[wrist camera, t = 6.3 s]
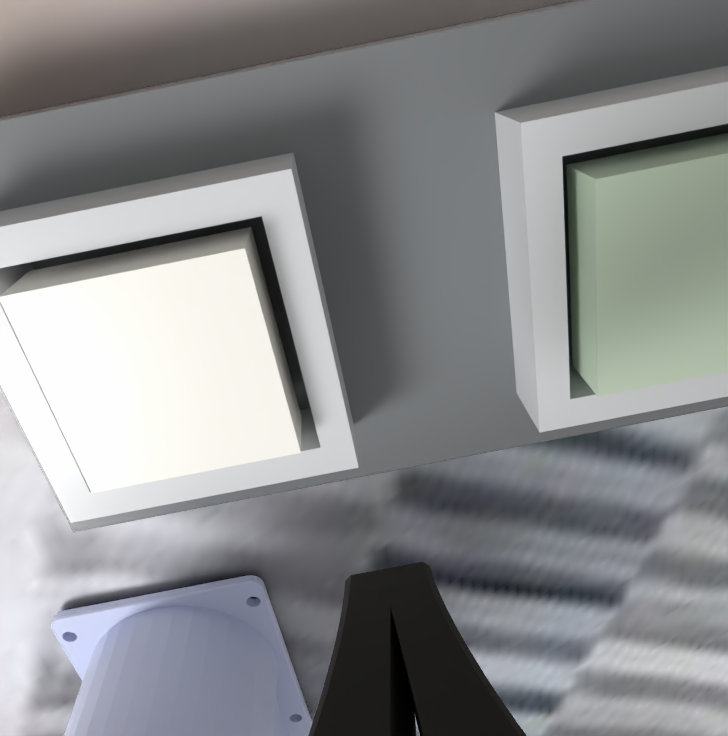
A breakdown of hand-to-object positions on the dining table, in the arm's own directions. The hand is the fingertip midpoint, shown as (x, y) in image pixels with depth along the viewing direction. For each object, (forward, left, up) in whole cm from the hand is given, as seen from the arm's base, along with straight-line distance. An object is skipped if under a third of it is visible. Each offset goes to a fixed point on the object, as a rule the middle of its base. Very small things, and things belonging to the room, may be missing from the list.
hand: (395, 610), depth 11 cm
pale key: (+3, +4, -6) cm, 8 cm away
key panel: (+3, -2, -10) cm, 11 cm away
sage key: (+3, -8, -6) cm, 10 cm away
